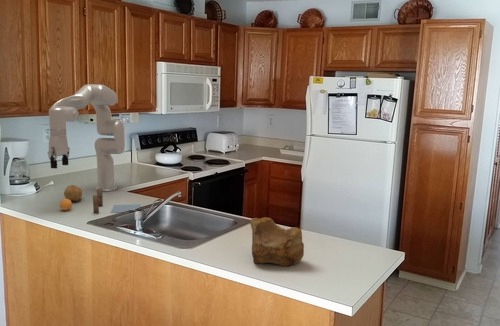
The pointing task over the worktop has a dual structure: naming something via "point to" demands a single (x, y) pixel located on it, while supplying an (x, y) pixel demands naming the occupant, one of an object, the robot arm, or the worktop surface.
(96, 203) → the outer post
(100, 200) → the inner post
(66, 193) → the potato
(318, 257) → the worktop surface
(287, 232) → the rough brown rock
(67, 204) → the ball
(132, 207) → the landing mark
